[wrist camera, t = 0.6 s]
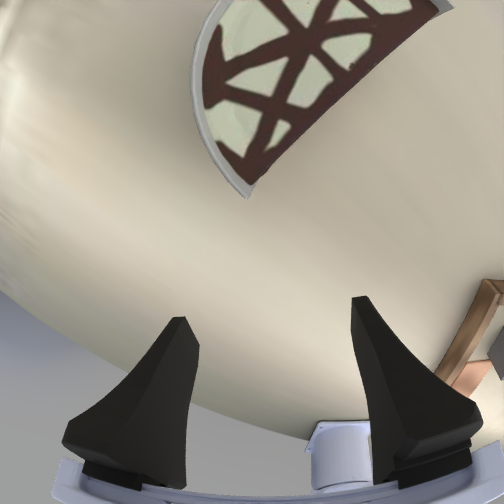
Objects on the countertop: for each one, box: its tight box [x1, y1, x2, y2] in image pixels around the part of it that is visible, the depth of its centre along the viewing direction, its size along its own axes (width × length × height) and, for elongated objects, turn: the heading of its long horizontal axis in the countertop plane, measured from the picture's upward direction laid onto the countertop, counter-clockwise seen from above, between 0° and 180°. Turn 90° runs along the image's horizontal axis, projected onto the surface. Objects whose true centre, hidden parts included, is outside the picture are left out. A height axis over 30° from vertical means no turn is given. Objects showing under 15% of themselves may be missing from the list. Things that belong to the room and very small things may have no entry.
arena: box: [434, 279, 504, 398], centre depth 24 cm, size 21×19×2 cm
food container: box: [190, 0, 455, 199], centre depth 12 cm, size 12×6×10 cm, turn 138°
